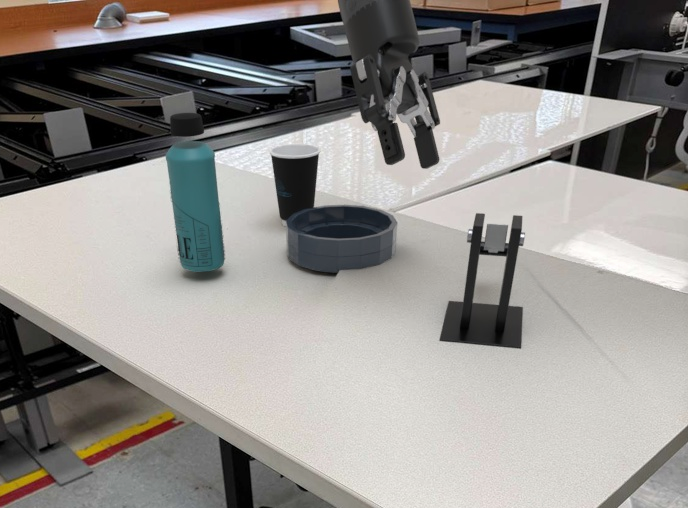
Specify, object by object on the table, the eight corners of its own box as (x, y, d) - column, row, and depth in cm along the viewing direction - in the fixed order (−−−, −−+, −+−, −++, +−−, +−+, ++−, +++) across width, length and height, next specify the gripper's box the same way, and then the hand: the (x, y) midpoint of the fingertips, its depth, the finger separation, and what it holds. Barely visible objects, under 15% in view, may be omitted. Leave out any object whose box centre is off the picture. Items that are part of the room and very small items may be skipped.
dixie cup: (265, 228, 114) (261, 154, 108) (281, 213, 120) (279, 142, 113) (312, 233, 113) (311, 157, 106) (326, 217, 118) (327, 144, 111)
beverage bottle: (235, 269, 101) (222, 110, 89) (211, 286, 97) (194, 121, 84) (195, 263, 103) (177, 106, 91) (171, 279, 99) (148, 117, 86)
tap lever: (471, 258, 90) (474, 238, 89) (512, 261, 89) (515, 240, 88) (470, 246, 77) (473, 222, 76) (518, 249, 76) (521, 225, 75)
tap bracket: (447, 309, 90) (459, 202, 81) (521, 315, 88) (541, 207, 80) (438, 348, 81) (451, 234, 73) (519, 356, 80) (541, 240, 71)
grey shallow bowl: (383, 236, 111) (385, 202, 108) (404, 273, 99) (407, 237, 96) (283, 241, 110) (282, 207, 107) (292, 279, 98) (291, 243, 95)
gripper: (371, -23, 71) (413, 145, 74) (435, 8, 82) (469, 154, 85) (313, 19, 76) (355, 175, 79) (380, 42, 86) (415, 179, 89)
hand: (414, 164), depth 82 cm, fingers open, 8 cm apart
